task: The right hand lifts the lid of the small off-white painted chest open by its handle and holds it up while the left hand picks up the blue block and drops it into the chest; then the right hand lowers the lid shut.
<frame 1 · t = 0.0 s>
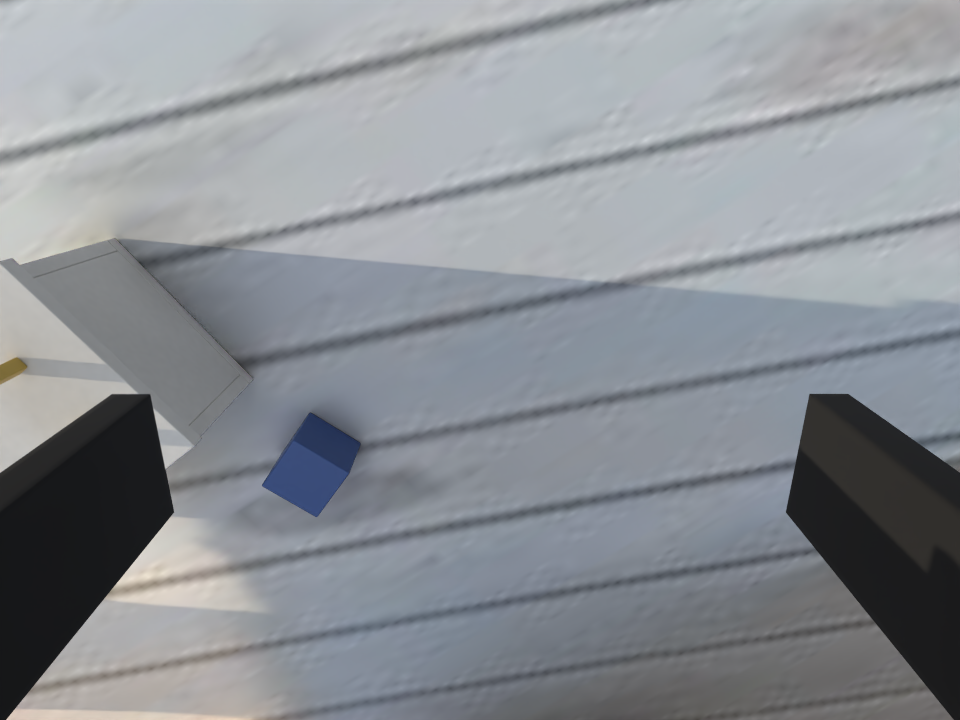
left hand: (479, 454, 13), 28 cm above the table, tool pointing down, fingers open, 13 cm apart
block: (320, 449, 44), on the table
chest: (101, 385, 42), on the table
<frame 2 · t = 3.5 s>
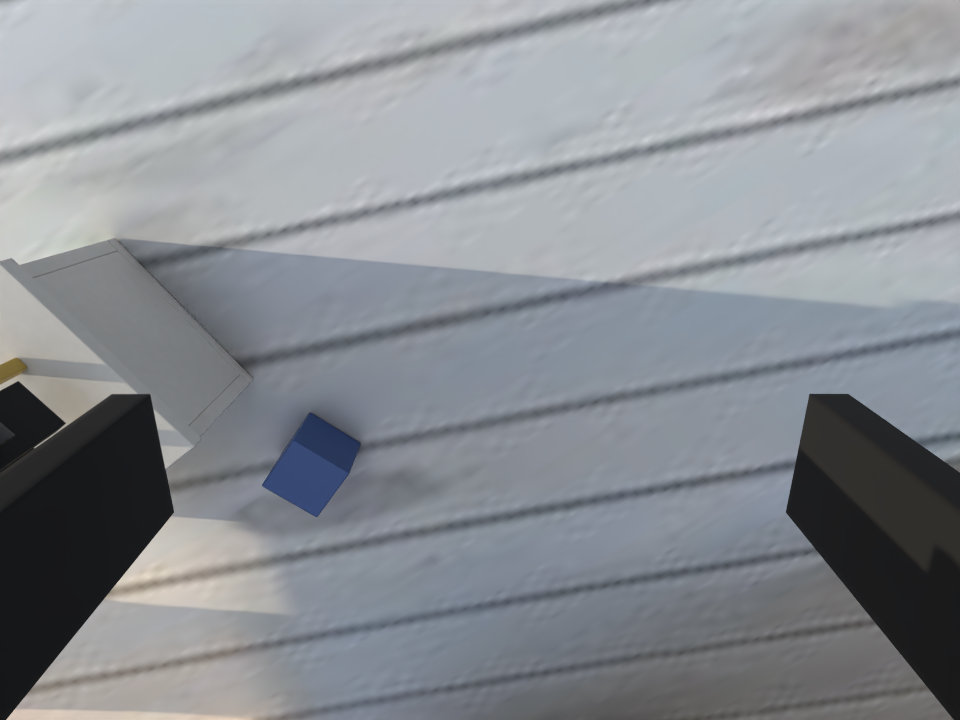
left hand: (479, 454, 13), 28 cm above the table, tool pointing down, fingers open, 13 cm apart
block: (320, 449, 44), on the table
chest: (101, 385, 42), on the table
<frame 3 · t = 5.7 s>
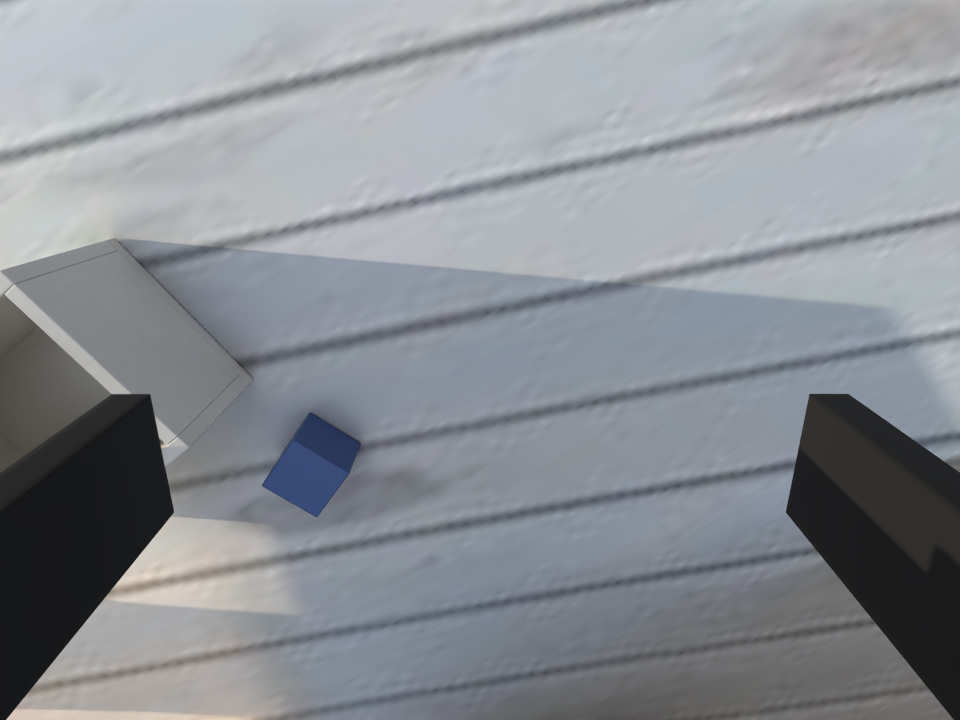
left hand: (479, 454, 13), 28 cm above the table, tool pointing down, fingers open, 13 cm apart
block: (320, 449, 44), on the table
chest: (101, 385, 42), on the table
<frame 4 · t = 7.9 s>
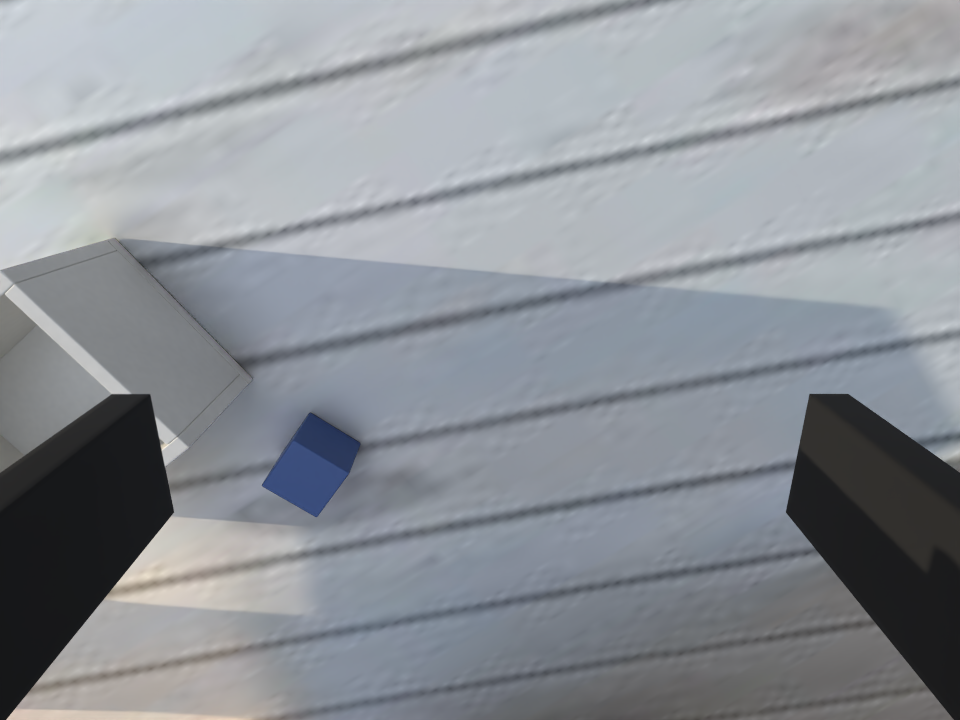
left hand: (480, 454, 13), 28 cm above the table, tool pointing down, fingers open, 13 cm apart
block: (320, 449, 44), on the table
chest: (101, 385, 42), on the table
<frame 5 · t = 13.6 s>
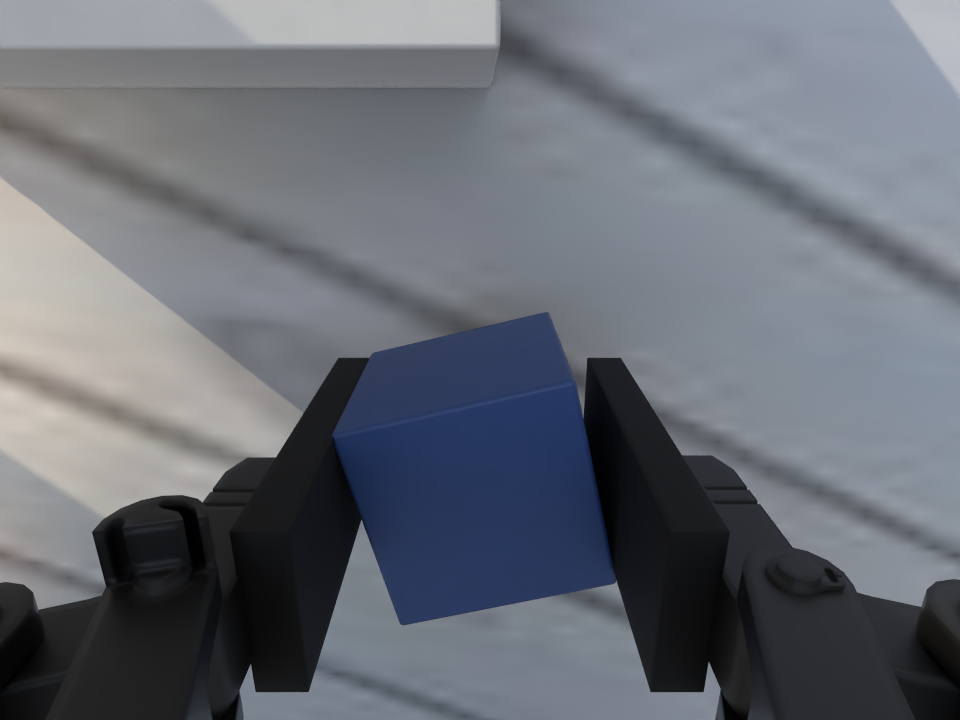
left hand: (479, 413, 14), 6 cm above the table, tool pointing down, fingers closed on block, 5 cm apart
block: (480, 412, 15), point 6 cm above the table, touching left hand
when the left hand's fingers open (18 cm above the table, at t = 16.6 s): block drops 16 cm, resting on chest.
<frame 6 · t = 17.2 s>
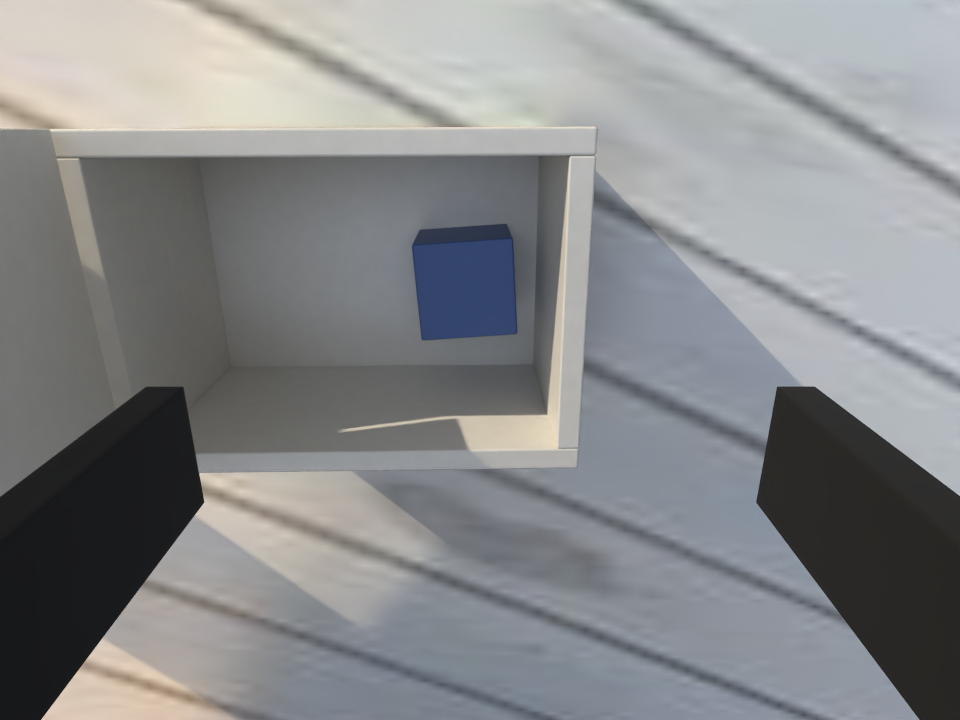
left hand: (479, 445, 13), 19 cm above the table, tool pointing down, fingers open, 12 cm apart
block: (466, 269, 30), point 1 cm above the table, touching chest
chest: (378, 260, 30), on the table, touching block
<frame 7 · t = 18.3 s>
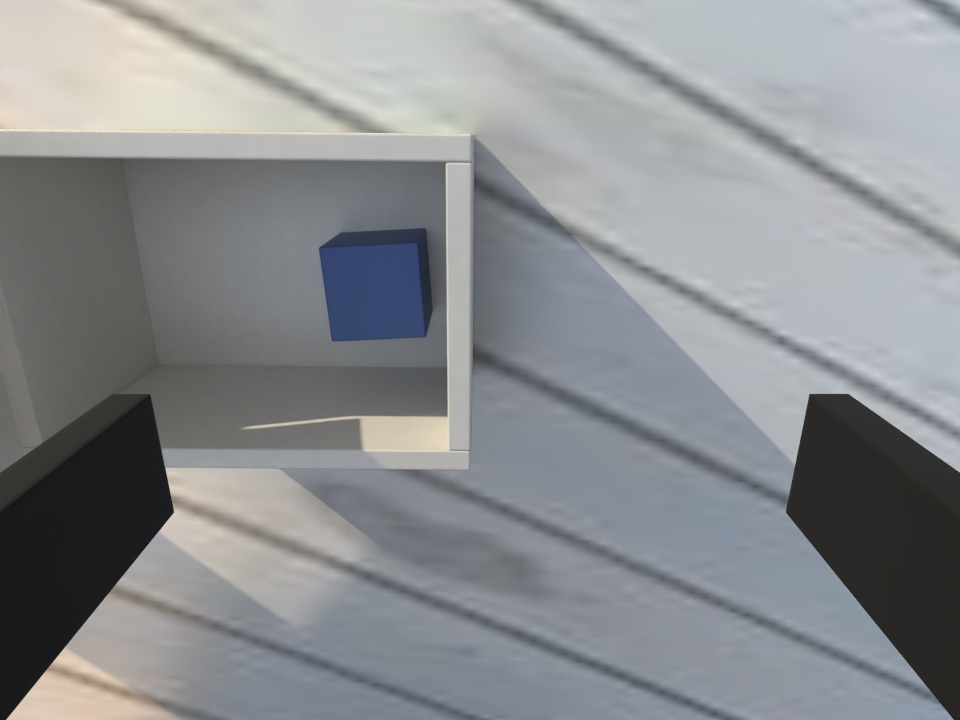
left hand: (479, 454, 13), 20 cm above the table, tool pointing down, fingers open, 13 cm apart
block: (387, 273, 30), point 1 cm above the table, touching chest
chest: (303, 262, 31), on the table, touching block
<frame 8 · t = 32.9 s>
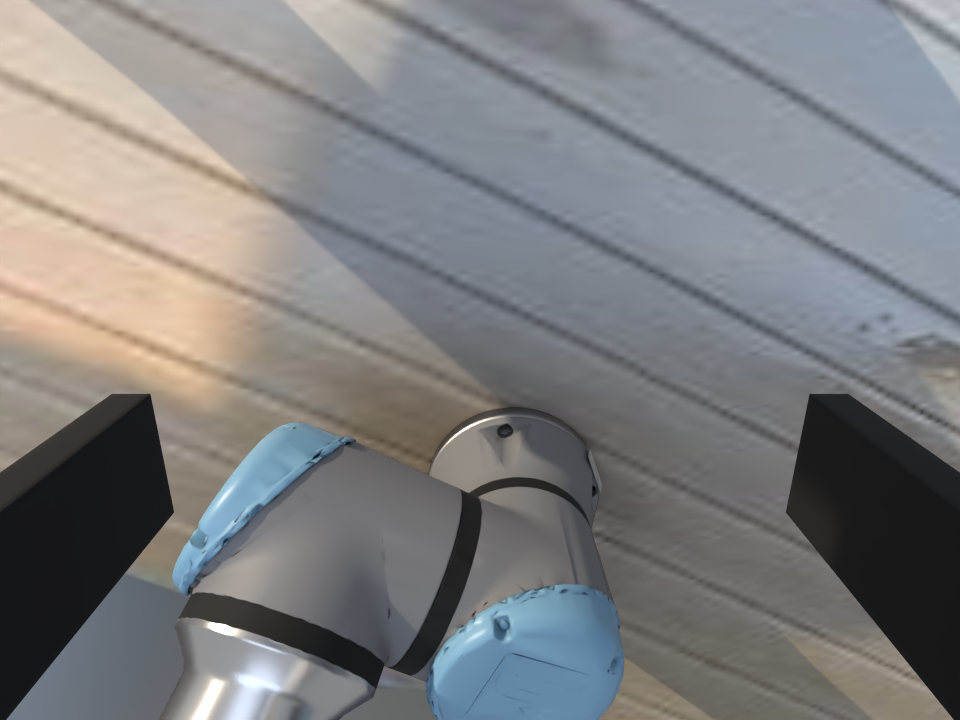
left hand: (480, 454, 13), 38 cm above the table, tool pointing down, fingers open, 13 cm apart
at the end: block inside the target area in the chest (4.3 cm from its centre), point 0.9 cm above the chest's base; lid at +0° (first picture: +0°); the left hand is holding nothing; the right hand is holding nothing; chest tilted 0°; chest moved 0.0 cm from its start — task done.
